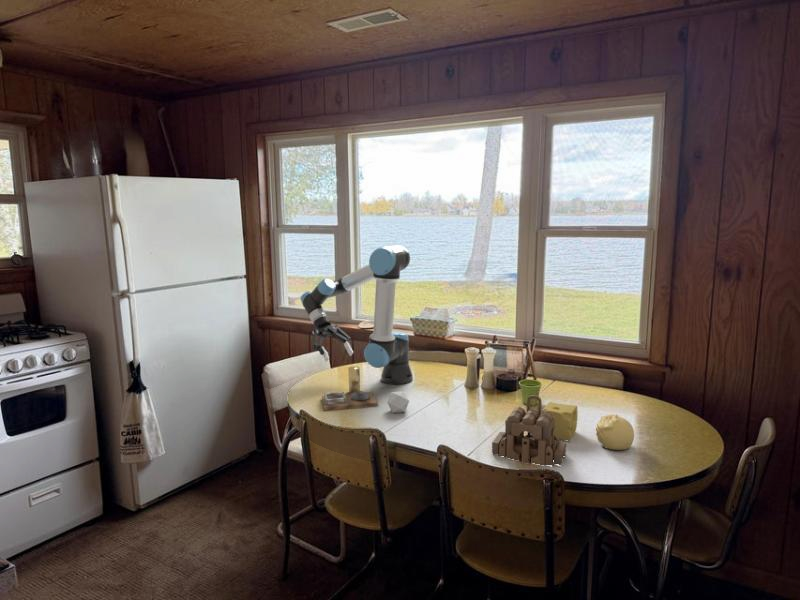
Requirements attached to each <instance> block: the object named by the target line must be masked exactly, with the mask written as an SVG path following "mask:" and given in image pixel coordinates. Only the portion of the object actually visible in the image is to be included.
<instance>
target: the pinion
mask: <svg viewBox="0 0 800 600" xmlns="http://www.w3.org/2000/svg"><path fill="white" fill-rule="evenodd" d="M347 371H348V372H347V373H348V375H347V376H348V394H349V393H355V392H359V391H361V373H360V372H361V371H360V367H359V366H349V367H348V368H347Z"/></svg>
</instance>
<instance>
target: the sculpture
mask: <svg viewBox="0 0 800 600" xmlns="http://www.w3.org/2000/svg"><path fill="white" fill-rule="evenodd" d="M595 432H596V433H595V435H596V436H597V440H598V442H599V443H600V444H601V445H602V446H603V447H605V449H608V448H609V449H608V450H614V451H615V450H616V451H617V450H619V451H621V450H628V449H629V448H630V447H631V446H632V444H633V443H634V439H635V430H634V427H633V425H632V424H631V422H630V421H629V420H627V419H626V418H624V417H621V416H619V415H618V414H617V413H616V414H607V415H603V416H601V417H600V420H598V422H597V424H596V427H595Z"/></svg>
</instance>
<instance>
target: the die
mask: <svg viewBox="0 0 800 600" xmlns="http://www.w3.org/2000/svg"><path fill="white" fill-rule="evenodd" d="M386 403H387V404H386V405H387V406H388V407H389V409H390V411H391V412H392V413H393V414H396V413H397V414H398V413H405V412H406V411H407V408H408V406H409V403H410V400H409V398H408V397H407V395H406V393H405V392H404V391H392V392H390V394H389V396H388V400H387V402H386Z"/></svg>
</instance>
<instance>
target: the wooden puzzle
mask: <svg viewBox="0 0 800 600" xmlns="http://www.w3.org/2000/svg"><path fill="white" fill-rule="evenodd" d="M532 398H534V399H537V400H538V403H537V405H538V406H537V407H538V409H536V408H531V405H530V399H532ZM504 421H505V422H504V423H505V427H504V430H505V431H499V432H498V434H497V435H496V437H495V438H494V440H492V442H491V454H492V453H493V454H492V455H495V454H498V456H499V457H500V456H504V457H503V458H505V459H506V458H510V459H509V460H511V459H514V460H513V461H516V460H519V461H521V463H522V462H523V463H522V464H525V463H530V464H531V463H535V464H540V465H552V464H553V465H554V464H559V465H561V466H562V464H563V458H564V457H563V456H566V455H565V453H566V454H567V452H566V451H567V442H565V441H564V442H563V441H560V439H559V437H558V436H557V435H556V434H555V433H554V429H555V417H553V415H552V413H551V412H549V411H544V412H542V399H541V397H540V396H539V397H538V396H536V395H531V396H529V397H528V399H527V405H526V410H525V408H523V407H521V406H517V407H515V408H514V409H513V410H512V411H511V412H510V413H509V415H508V416H507V418H506V419H505V420H504ZM525 432H527V434H526V435H525ZM530 457H531V458H530ZM520 458H521V459H520ZM553 460H554V462H553ZM529 461H530V462H529ZM561 463H562V464H561ZM535 464H534V465H535ZM540 465H539V466H540ZM553 465H552V466H553Z"/></svg>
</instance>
